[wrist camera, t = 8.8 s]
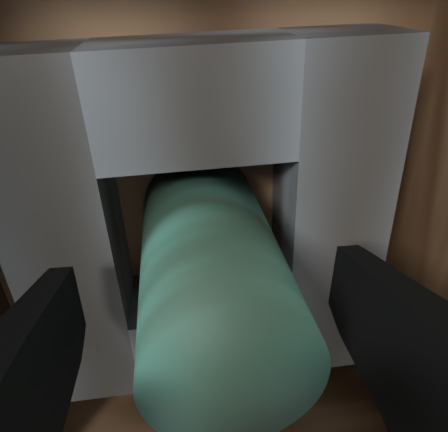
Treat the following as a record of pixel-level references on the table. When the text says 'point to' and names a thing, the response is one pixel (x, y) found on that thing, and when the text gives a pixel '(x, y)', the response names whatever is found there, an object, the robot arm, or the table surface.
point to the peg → (220, 313)
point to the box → (220, 156)
